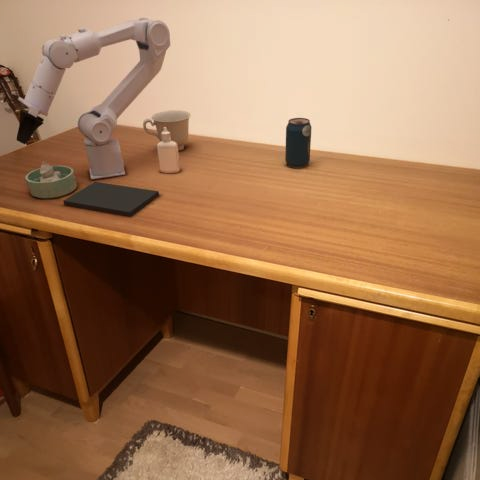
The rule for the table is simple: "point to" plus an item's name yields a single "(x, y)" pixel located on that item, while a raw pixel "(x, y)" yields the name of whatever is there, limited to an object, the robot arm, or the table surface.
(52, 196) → the bowl
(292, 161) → the soda can
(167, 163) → the eye dropper bottle
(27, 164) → the table surface
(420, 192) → the table surface
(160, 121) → the teacup
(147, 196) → the desk pad
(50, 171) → the rubber duck
